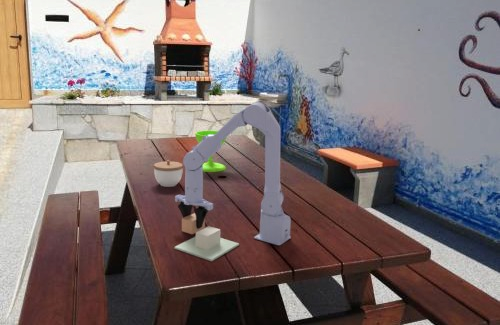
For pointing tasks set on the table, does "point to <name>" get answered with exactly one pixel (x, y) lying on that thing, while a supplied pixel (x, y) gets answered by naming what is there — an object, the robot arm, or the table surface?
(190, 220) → the tan brick
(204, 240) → the cream brick
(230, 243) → the baseplate
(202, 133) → the wineglass
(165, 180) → the lidded bowl
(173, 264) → the table surface
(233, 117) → the robot arm
